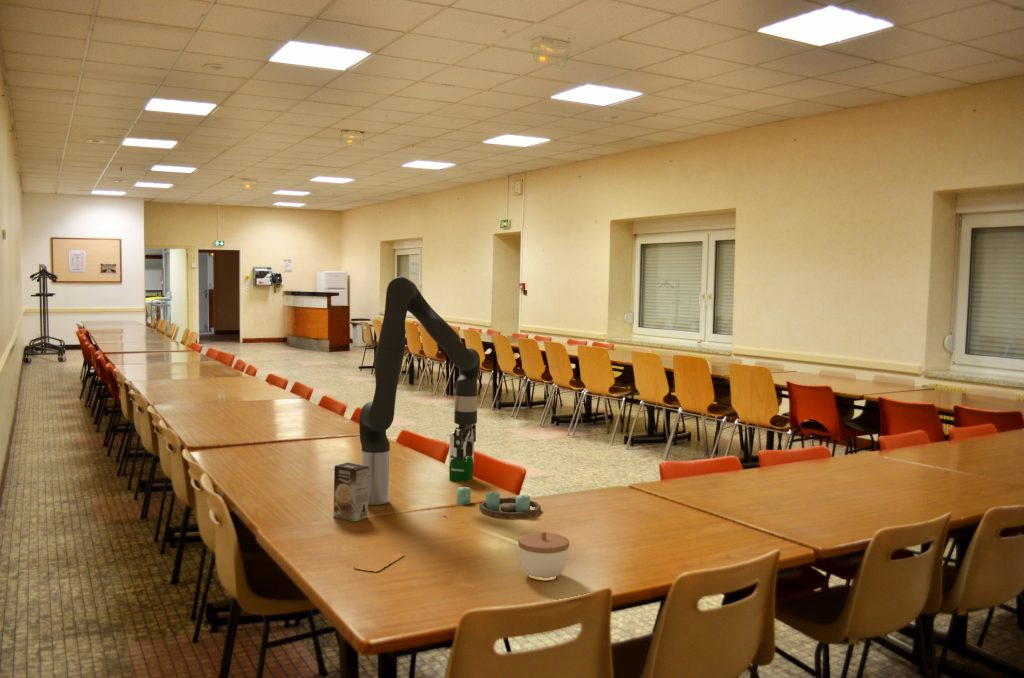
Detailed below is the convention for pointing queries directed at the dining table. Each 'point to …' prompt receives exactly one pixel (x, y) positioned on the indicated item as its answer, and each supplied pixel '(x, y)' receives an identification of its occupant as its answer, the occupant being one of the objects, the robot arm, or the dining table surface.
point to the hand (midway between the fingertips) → (464, 458)
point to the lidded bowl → (543, 554)
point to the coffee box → (351, 491)
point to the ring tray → (509, 509)
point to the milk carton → (460, 463)
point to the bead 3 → (522, 503)
